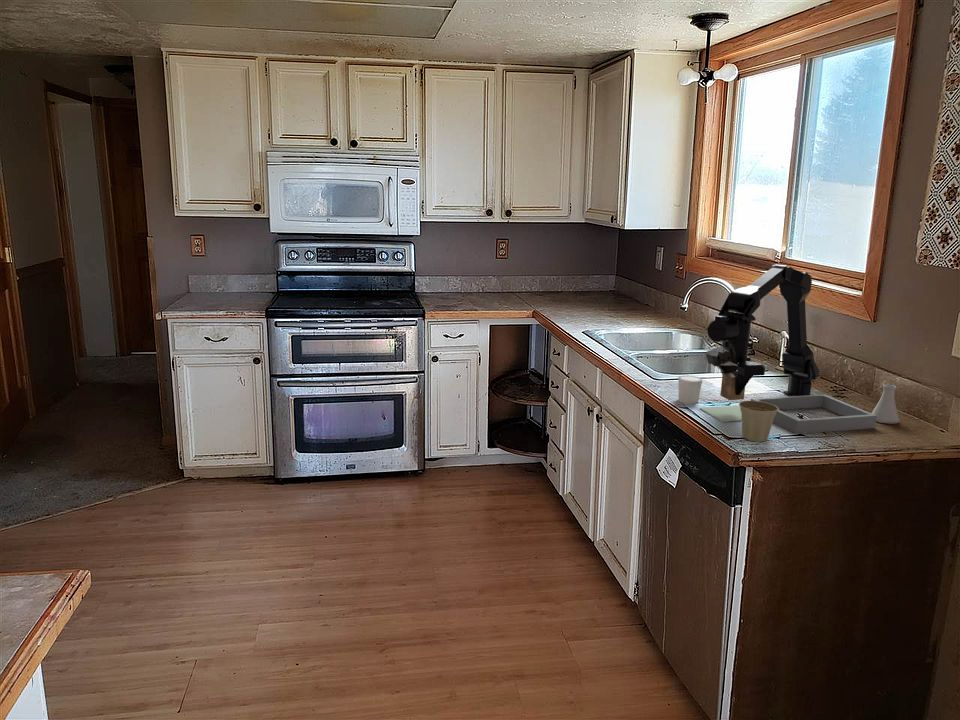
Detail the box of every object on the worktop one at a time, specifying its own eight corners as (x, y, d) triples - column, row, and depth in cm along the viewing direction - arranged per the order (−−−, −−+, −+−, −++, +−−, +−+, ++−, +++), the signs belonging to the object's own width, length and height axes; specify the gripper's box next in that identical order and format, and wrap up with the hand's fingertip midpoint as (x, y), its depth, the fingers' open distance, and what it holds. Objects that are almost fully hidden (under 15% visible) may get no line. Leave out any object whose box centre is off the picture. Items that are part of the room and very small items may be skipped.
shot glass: (684, 396, 224) (686, 374, 222) (704, 401, 219) (706, 378, 217) (671, 400, 219) (673, 377, 217) (692, 405, 214) (694, 382, 213)
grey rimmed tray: (749, 410, 211) (751, 398, 210) (822, 405, 217) (824, 394, 216) (796, 433, 192) (797, 421, 191) (874, 428, 198) (876, 415, 197)
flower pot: (763, 431, 193) (766, 400, 191) (782, 444, 184) (786, 411, 182) (729, 432, 192) (732, 400, 190) (746, 445, 183) (750, 411, 181)
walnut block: (720, 395, 208) (722, 373, 206) (734, 394, 209) (736, 372, 207) (729, 400, 203) (731, 377, 202) (743, 399, 204) (746, 376, 203)
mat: (699, 409, 211) (699, 407, 211) (736, 406, 214) (736, 405, 214) (722, 422, 200) (723, 420, 200) (761, 419, 203) (761, 418, 203)
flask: (889, 416, 208) (895, 382, 206) (904, 424, 201) (910, 389, 199) (864, 416, 208) (869, 382, 206) (878, 424, 201) (884, 389, 199)
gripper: (694, 331, 209) (689, 385, 212) (731, 346, 191) (725, 403, 195) (729, 330, 211) (723, 383, 215) (769, 344, 194) (762, 401, 198)
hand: (732, 392), depth 206 cm, fingers closed on walnut block, 4 cm apart
